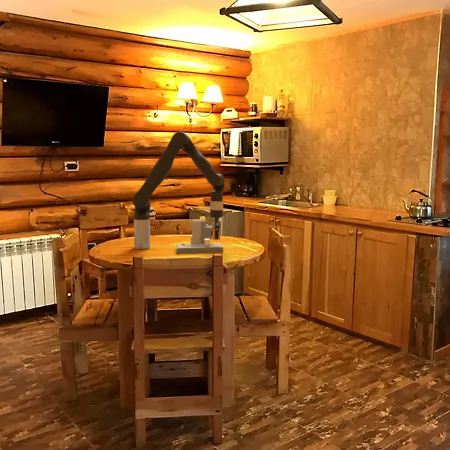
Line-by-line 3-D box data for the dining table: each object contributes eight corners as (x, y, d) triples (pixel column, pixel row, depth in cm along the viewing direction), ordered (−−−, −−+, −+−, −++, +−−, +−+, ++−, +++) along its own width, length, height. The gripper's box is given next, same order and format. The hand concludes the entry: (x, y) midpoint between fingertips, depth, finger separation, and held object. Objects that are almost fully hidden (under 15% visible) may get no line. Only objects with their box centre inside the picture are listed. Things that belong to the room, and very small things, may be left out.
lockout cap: (213, 240, 293) (213, 229, 292) (212, 238, 297) (212, 228, 296) (220, 240, 293) (220, 229, 292) (219, 239, 297) (219, 228, 296)
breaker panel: (177, 253, 287) (177, 246, 287) (176, 249, 299) (176, 243, 298) (223, 252, 291) (223, 245, 290) (220, 248, 302) (220, 242, 302)
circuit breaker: (213, 246, 310) (213, 221, 308) (190, 245, 313) (190, 221, 311) (216, 243, 317) (215, 220, 315) (193, 243, 320) (193, 219, 318)
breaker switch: (204, 245, 293) (204, 239, 292) (204, 244, 297) (204, 238, 296) (210, 245, 293) (210, 239, 293) (209, 244, 297) (209, 238, 297)
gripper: (224, 210, 286) (224, 240, 288) (221, 207, 300) (221, 236, 302) (211, 210, 285) (211, 240, 287) (208, 207, 299) (208, 236, 301)
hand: (216, 238), depth 295 cm, fingers closed on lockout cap, 4 cm apart
